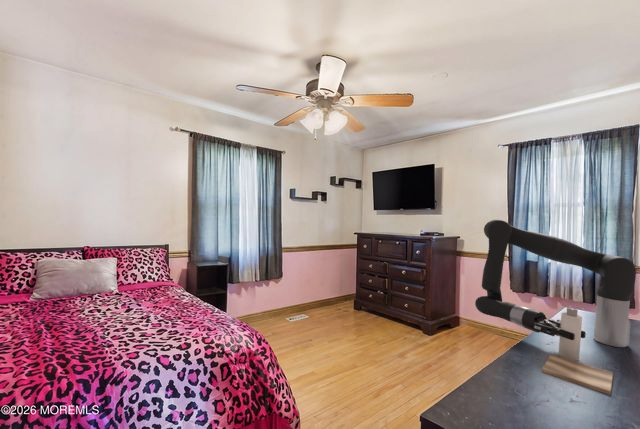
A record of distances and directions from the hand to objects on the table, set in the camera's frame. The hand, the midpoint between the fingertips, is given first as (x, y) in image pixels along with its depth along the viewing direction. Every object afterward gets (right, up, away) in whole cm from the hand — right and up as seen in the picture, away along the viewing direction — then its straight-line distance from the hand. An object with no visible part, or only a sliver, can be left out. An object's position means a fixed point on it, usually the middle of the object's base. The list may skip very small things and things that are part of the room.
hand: (579, 336), depth 102 cm
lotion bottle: (-2, -8, +3) cm, 8 cm away
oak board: (-8, -8, -9) cm, 14 cm away
